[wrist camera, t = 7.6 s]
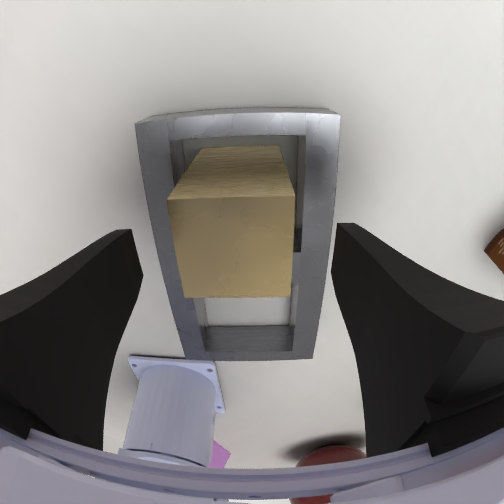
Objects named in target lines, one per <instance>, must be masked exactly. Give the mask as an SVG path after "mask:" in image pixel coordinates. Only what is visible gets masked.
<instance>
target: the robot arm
mask: <svg viewBox="0 0 504 504" xmlns="http://www.w3.org/2000/svg"><path fill="white" fill-rule="evenodd" d="M331 275H332V280H333V286H334V290H335V295H336V298H337V301H338V304H339V307H340V310H341V313H342V316H343V319H344V322H345V324H346V327H347V330H348V333H349V336H350V339H351V342H352V346H353V349H354V353H355V357H356V362H357V368H358V373H359V379H360V385H361V392H362V400H363V409H364V419H365V431H366V458H363V459H358V460H352V461H346V462H339V463H332V464H324V465H315V466H305V467H292V468H273V469H227V468H209V464H210V462H211V459H212V449H213V437H214V425H215V413H224V412H225V406H224V402H223V397H222V393H221V388H220V384H219V379H218V375H217V370H216V365H215V363H214V362H213V361H205V360H185V359H166V358H152V357H140V356H129V358H128V363H129V364H130V366H131V368H132V370H133V372H134V374H135V376H136V377H137V379H138V381H139V385H138V389H137V393H136V396H135V400H134V404H133V408H132V412H131V416H130V419H129V423H128V428H127V432H126V436H125V440H124V444H123V449H122V448H119V451H118V455H117V454H113V453H108V452H104V451H103V430H104V417H105V407H106V399H107V393H108V387H109V381H110V376H111V372H112V367H113V363H114V359H115V355H116V352H117V349H118V346H119V343H120V341H121V338H122V335H123V333H124V330H125V328H126V325H127V323H128V321H129V318H130V316H131V313H132V311H133V308H134V306H135V303H136V301H137V298H138V295H139V291H140V287H141V283H142V279H143V272H142V269H141V265H140V261H139V258H138V254H137V250H136V246H135V242H134V238H133V234H132V230H131V229H122V230H115V231H113V232H111V233H109V234H107V235H105V236H103V237H102V238H100V239H98V240H97V241H95V242H94V243H92V244H90V245H89V246H87V247H86V248H84V249H83V250H81V251H80V252H78V253H77V254H75V255H73V256H72V257H70V258H69V259H67V260H66V261H64V262H62V263H61V264H59V265H58V266H56V267H55V268H53V269H51V270H50V271H48V272H46V273H44V274H43V275H41V276H39V277H37V278H35V279H33V280H32V281H30V282H28V283H26V284H24V285H22V286H19V287H17V288H15V289H13V290H11V291H9V292H7V293H4V294H2V295H0V504H248V503H236V502H229V501H228V499H240V500H242V499H243V500H262V499H263V500H264V499H287V498H301V497H311V496H320V495H328V494H333V495H332V496H331V497H330V500H331V502H330V503H328V504H501V503H502V502H504V301H502V300H498V299H495V298H492V297H489V296H486V295H483V294H480V293H478V292H475V291H473V290H470V289H467V288H465V287H463V286H461V285H458V284H456V283H454V282H451V281H449V280H447V279H445V278H443V277H441V276H439V275H437V274H435V273H433V272H431V271H430V270H428V269H426V268H424V267H422V266H420V265H419V264H417V263H415V262H414V261H412V260H411V259H409V258H407V257H406V256H404V255H402V254H401V253H399V252H398V251H396V250H395V249H393V248H392V247H390V246H389V245H387V244H386V243H384V242H383V241H382V240H380V239H379V238H377V237H376V236H374V235H373V234H371V233H370V232H368V231H367V230H365V229H364V228H362V227H361V226H359V225H357V224H355V223H337V229H336V237H335V245H334V253H333V260H332V268H331ZM82 473H83V474H82ZM85 474H86V475H85ZM87 475H90V476H93V477H95V479H94V478H91V477H89V476H87Z"/></svg>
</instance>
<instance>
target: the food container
mask: <svg viewBox="0 0 504 504" xmlns="http://www.w3.org/2000/svg"><path fill="white" fill-rule="evenodd" d="M484 252H485V253H486V254H487V255H488V256H489V257H490V258H491V260H492V261H493V262H494V263H495V264H496V265H497V267H498V268H499V269H500V270H501V271H502V272H503V274H504V229H503V230H501V231H500V232H499V233H498V234H497V235H496V236H495V237H494V239H493V240H492V241H491V242H490V243H489V245H488V246H487V247H486V249H485V250H484Z"/></svg>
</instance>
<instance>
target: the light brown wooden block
mask: <svg viewBox="0 0 504 504" xmlns="http://www.w3.org/2000/svg"><path fill="white" fill-rule="evenodd" d="M167 206H168V213H169V219H170V225H171V230H172V236H173V242H174V247H175V252H176V258H177V263H178V268H179V273H180V278H181V283H182V288H183V292H184V297H185V298H239V297H289V296H290V293H291V277H292V261H293V242H294V221H295V193H294V190H293V187H292V184H291V181H290V178H289V175H288V172H287V169H286V166H285V163H284V160H283V157H282V154H281V151H280V148H279V146H234V147H213V148H201V150H200V151H199V153H198V154H197V155H196V157H195V158H194V160H193V161H192V163H191V164H190V165H189V167H188V168H187V170H186V171H185V173H184V174H183V176H182V177H181V179H180V180H179V182H178V183H177V185H176V186H175V188H174V189H173V191H172V192H171V194H170V195H169V197H168V199H167Z"/></svg>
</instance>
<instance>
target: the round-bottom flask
mask: <svg viewBox="0 0 504 504" xmlns="http://www.w3.org/2000/svg"><path fill="white" fill-rule="evenodd" d="M363 458H366V454H365V453H364V452H363V451H361V450H359V449H357V448H354V447H351V446H346V445H331V446H326V447H322V448H319V449H317V450H315V451H313V452H311V453H309V454H308V455H306V456H305V457H304V458H303V459H302V460H301V461H300V462H299V463H298V464H297V465H296V466H295V467H305V466H315V465H324V464H332V463H339V462H346V461H352V460H358V459H363ZM332 495H333V494H328V495H320V496H311V497H301V498H289V500H290V502H291V504H328V503H330V502H331V500H330V497H331V496H332Z"/></svg>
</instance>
